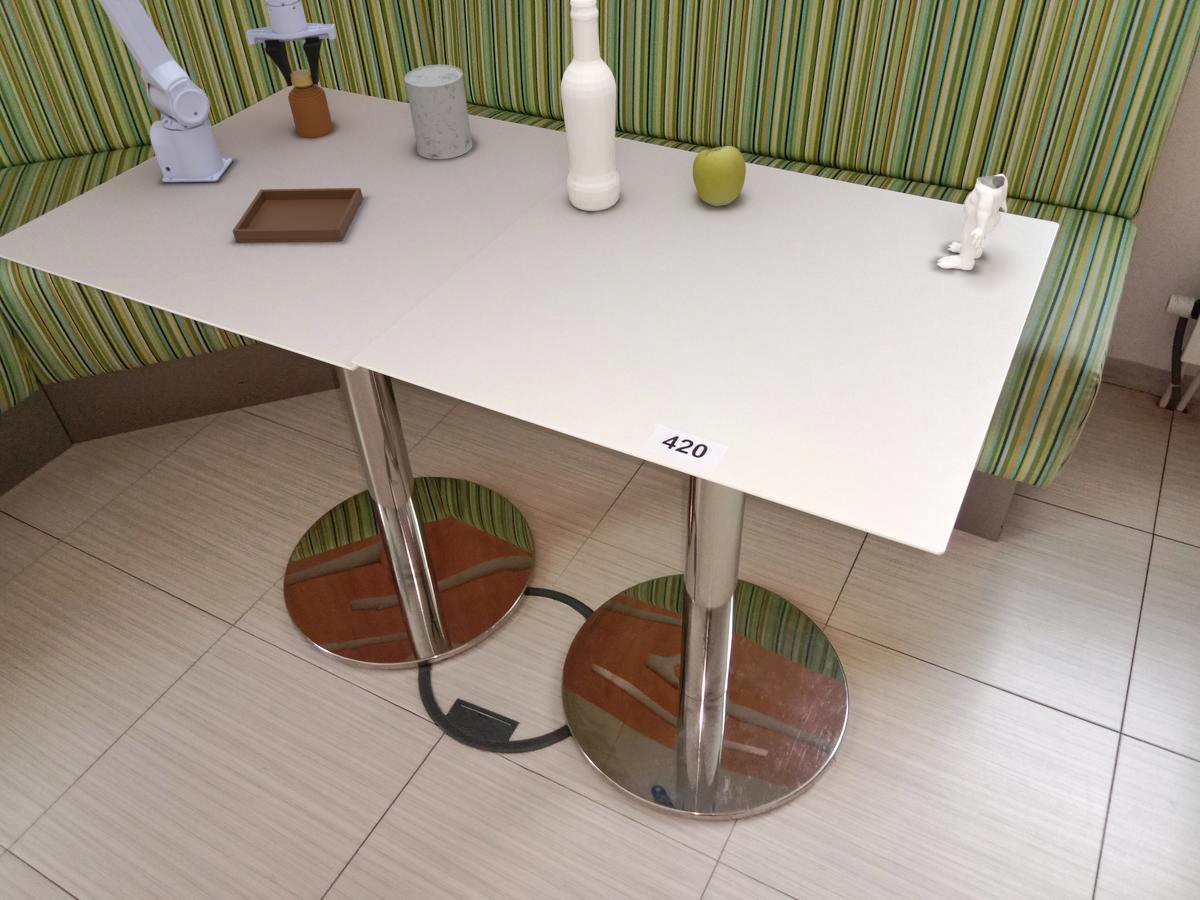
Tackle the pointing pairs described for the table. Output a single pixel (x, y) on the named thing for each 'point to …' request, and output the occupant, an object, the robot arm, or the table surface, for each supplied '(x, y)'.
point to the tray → (299, 215)
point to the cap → (301, 78)
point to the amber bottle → (310, 111)
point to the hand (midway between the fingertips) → (303, 83)
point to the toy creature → (978, 221)
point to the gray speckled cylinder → (439, 111)
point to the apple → (719, 175)
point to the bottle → (589, 115)
